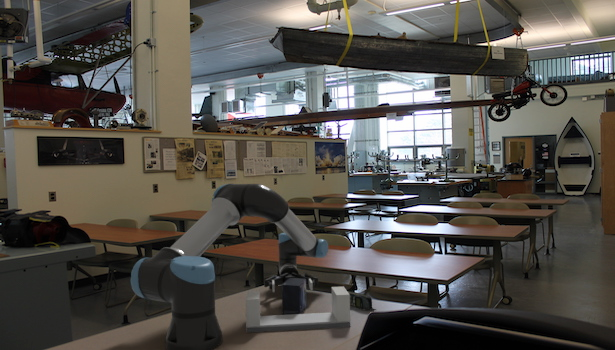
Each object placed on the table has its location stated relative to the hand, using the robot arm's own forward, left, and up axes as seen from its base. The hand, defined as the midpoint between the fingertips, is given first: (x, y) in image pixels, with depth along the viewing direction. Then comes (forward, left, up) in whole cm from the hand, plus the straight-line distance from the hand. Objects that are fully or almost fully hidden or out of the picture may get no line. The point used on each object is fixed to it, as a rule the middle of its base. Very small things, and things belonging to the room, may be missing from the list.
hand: (292, 287), depth 160 cm
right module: (+13, -22, -4) cm, 26 cm away
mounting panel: (0, -22, -6) cm, 23 cm away
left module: (-14, -22, -4) cm, 26 cm away
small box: (0, -10, -6) cm, 11 cm away
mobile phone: (+22, -8, -6) cm, 24 cm away
